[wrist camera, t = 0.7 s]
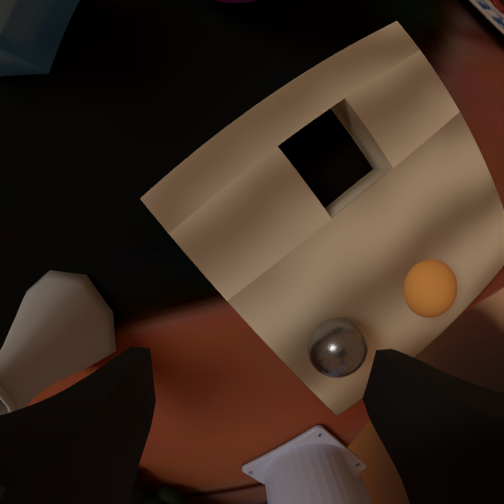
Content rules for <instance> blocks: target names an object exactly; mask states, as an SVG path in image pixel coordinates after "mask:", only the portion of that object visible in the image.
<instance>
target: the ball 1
mask: <svg viewBox="0 0 504 504" xmlns="http://www.w3.org/2000/svg"><path fill="white" fill-rule="evenodd" d="M367 353H368V340H367V337H366V334H365V332H364V330H363V329H362V328H361V327H360V326H359V325H358V324H357V323H356V322H354V321H352V320H350V319H347V318H341V317H339V318H331V319H328V320H326V321H324V322H322V323H321V324H319V325H318V326H317V327H316V328H315V329H314V331H313V332H312V334H311V336H310V338H309V341H308V356H309V360H310V362H311V364H312V365H313V367H314V368H315V369H316V370H317V371H318V372H320V373H321V374H323V375H325V376H328V377H332V378H342V377H346V376H348V375H351V374H352V373H354V372H355V371H357V370H358V369H359V368H360V367H361V366H362V364H363V363H364V361H365V359H366V356H367Z"/></svg>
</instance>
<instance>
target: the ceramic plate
mask: <svg viewBox="0 0 504 504" xmlns="http://www.w3.org/2000/svg"><path fill="white" fill-rule="evenodd" d="M469 1H470V2H471V3H472V4H473V5H474V6H475V7H476V8H477V9H478V10H479V12H480V13H481V14H482V15H483V16H484V17H485V18H486V19H487V20H489V21H490V22H491V23H492V24H493V25H494V26H495V27H496V28H497V29H498V30H499V31H500V32H501V33H502V34H503V35H504V0H469Z"/></svg>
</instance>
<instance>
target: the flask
mask: <svg viewBox="0 0 504 504" xmlns="http://www.w3.org/2000/svg"><path fill="white" fill-rule="evenodd" d="M115 351H117V350H116V341H115V331H114V319H113V311H112V310H111V309H110V307H109V306H108V304H107V303H106V302H105V300H104V299H103V298H102V296H101V295H100V293H99V292H98V290H97V289H96V288H95V286H94V285H93V283H92V282H91V280H90V279H89V277H88V276H87V275H86V274H77V273H68V272H60V271H52V270H50V271H49V272H48V273H46V274H45V275H44V276H43V277H42V278H41V279H40V280H39V281H38V282H36V283H35V284H34V285H33V286H32V287H31V288H30V289H29V290H28V291H27V293H26V295H25V297H24V299H23V301H22V303H21V306H20V308H19V310H18V313H17V315H16V318H15V320H14V322H13V324H12V327H11V329H10V331H9V333H8V336H7V338H6V340H5V343H4V345H3V347H2V349H1V350H0V415H2V414H6V413H9V412H12V411H16V410H19V409H22V408H25V407H26V406H27V405H28V404H29V403H30V401H31V400H32V399H33V398H34V397H36V396H37V395H38V394H39V393H41V392H42V391H43V390H44V389H46V388H47V387H48V386H50V385H52V384H54V383H56V382H58V381H60V380H61V379H63V378H66V377H68V376H70V375H72V374H75V373H77V372H79V371H82V370H84V369H86V368H88V367H90V366H91V365H93V364H95V363H96V362H98V361H100V360H102V359H103V358H105V357H107V356H108V355H110V354H112V353H114V352H115Z"/></svg>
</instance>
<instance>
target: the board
mask: <svg viewBox="0 0 504 504" xmlns="http://www.w3.org/2000/svg"><path fill="white" fill-rule="evenodd" d="M328 109H331V110H332V111H333V113H334V114H335V115H336V116H337V118H338V119H339V120H340V122H341V123H342V125H343V126H344V127H345V129H346V130H347V131H348V133H349V134H350V136H351V137H352V138H353V140H354V141H355V143H356V144H357V145H358V147H359V148H360V150H361V151H362V153H363V154H364V156H365V157H366V159H367V160H368V162H369V163H370V165H371V166H372V168H373V170H372V171H371V172H369V173H368V174H367V175H366V176H364V177H363V178H362V179H361V180H359V181H358V182H357V183H356V184H354V185H353V186H352V187H351V188H349V189H348V190H347V191H346V192H344V193H343V194H342V195H341V196H339V197H338V198H337V199H336V200H334V201H333V202H332V203H331V204H329V205H328V206H327V207H326V208H324V207H323V206H322V204H321V203H320V202H319V200H318V199H317V197H316V196H315V195H314V193H313V192H312V191H311V189H310V188H309V187H308V185H307V184H306V182H305V181H304V180H303V178H302V177H301V176H300V175H299V173H298V172H297V171H296V169H295V168H294V167H293V165H292V164H291V163H290V161H289V160H288V159H287V158H286V156H285V155H284V154H283V152H282V151H281V150H280V149H279V147H278V145H280V144H281V143H282V142H284V141H285V140H286V139H288V138H289V137H291V136H292V135H293V134H295V133H296V132H297V131H299V130H300V129H301V128H303V127H304V126H306V125H307V124H308V123H310V122H311V121H313V120H314V119H315V118H317V117H318V116H320V115H321V114H323V113H324V112H325V111H327V110H328ZM140 199H141V200H142V202H143V203H144V204H145V205H146V207H147V208H148V209H149V210H150V211H151V213H152V214H153V215H154V216H155V218H156V219H157V220H158V221H159V222H160V224H161V225H162V226H163V227H164V228H165V230H166V231H167V232H168V233H169V234H170V236H171V237H172V238H173V239H174V240H175V242H176V243H177V244H178V245H179V246H180V247H181V249H182V250H183V251H184V252H185V253H186V255H187V256H188V257H189V258H190V259H191V260H192V261H193V263H194V264H195V265H196V266H197V267H198V268H199V270H200V271H201V272H202V273H203V274H204V275H205V276H206V278H207V279H208V280H209V281H210V282H211V283H212V284H213V286H214V287H215V288H216V289H217V290H218V291H219V292H220V293H221V295H222V296H223V297H224V298H225V299H226V300H227V301H228V302H229V304H230V305H231V306H232V307H233V308H234V309H235V310H236V311H237V312H238V313H239V315H240V316H241V317H242V318H243V319H244V320H245V321H246V322H247V323H248V324H249V326H250V327H251V328H252V329H253V330H254V331H255V332H256V333H257V334H258V335H259V336H260V337H261V338H262V340H263V341H264V342H265V343H266V344H267V345H268V346H269V347H270V348H271V349H272V350H273V351H274V352H275V353H276V354H277V355H278V357H279V358H280V359H281V360H282V361H283V362H284V363H285V364H286V365H287V366H288V367H289V368H290V369H291V370H292V371H293V372H294V373H295V374H296V375H297V376H298V377H299V378H300V379H301V380H302V381H303V382H304V383H305V384H306V385H307V386H308V387H309V389H310V390H311V391H312V392H313V393H314V394H315V395H316V396H317V397H318V398H319V399H320V400H321V401H322V402H323V403H324V404H325V405H326V406H327V407H328V408H329V409H331V410H332V411H333V412H334V413H335V414H336V415H339V414H340V413H342V412H343V411H345V410H346V409H348V408H349V407H351V406H352V405H353V404H355V403H356V402H358V401H359V400H360V399H362V398H363V396H364V392H365V389H366V386H367V382H368V379H369V375H370V371H371V368H372V364H373V360H374V356H375V353H376V350H382V349H394V350H397V351H400V352H402V353H404V354H407V355H409V356H411V357H413V358H414V357H415V356H416V355H417V354H419V353H420V352H421V351H422V350H423V349H424V348H425V347H426V346H428V345H429V344H430V343H431V342H432V341H433V340H434V339H435V338H436V337H437V336H438V335H440V334H441V333H442V332H443V331H444V330H445V329H446V328H447V327H448V326H449V325H450V324H451V323H452V322H453V321H454V320H455V319H456V318H457V317H458V316H459V315H460V314H461V313H462V312H463V311H464V310H465V309H466V308H467V307H468V306H469V305H470V304H471V302H472V301H473V300H474V299H475V298H476V297H477V296H478V295H479V294H480V293H481V292H482V290H483V289H484V288H485V287H486V286H487V285H488V284H489V282H490V281H491V280H492V279H493V278H494V277H495V275H496V274H497V273H498V272H499V271H500V269H501V268H502V267H503V266H504V209H503V207H502V204H501V201H500V198H499V195H498V193H497V190H496V188H495V185H494V182H493V180H492V178H491V175H490V173H489V170H488V168H487V166H486V163H485V161H484V159H483V157H482V154H481V152H480V150H479V148H478V146H477V144H476V142H475V140H474V138H473V136H472V134H471V132H470V130H469V128H468V126H467V124H466V122H465V120H464V119H463V117H462V115H461V113H460V111H459V109H458V108H457V106H456V104H455V103H454V101H453V99H452V97H451V96H450V94H449V92H448V91H447V89H446V88H445V86H444V84H443V83H442V81H441V80H440V78H439V77H438V75H437V74H436V72H435V71H434V69H433V68H432V66H431V65H430V63H429V62H428V60H427V59H426V58H425V56H424V55H423V53H422V52H421V51H420V49H419V48H418V47H417V45H416V44H415V43H414V41H413V40H412V39H411V38H410V36H409V35H408V34H407V32H406V31H405V30H404V29H403V28H402V26H401V25H400V24H399V23H398V21H396V22H394V23H392V24H390V25H388V26H386V27H384V28H382V29H380V30H378V31H376V32H374V33H372V34H370V35H369V36H367V37H365V38H363V39H361V40H359V41H357V42H356V43H354V44H352V45H350V46H348V47H347V48H345V49H343V50H341V51H340V52H338V53H336V54H334V55H333V56H331V57H329V58H328V59H326V60H324V61H323V62H321V63H319V64H318V65H316V66H314V67H313V68H311V69H310V70H308V71H306V72H305V73H303V74H302V75H300V76H299V77H297V78H295V79H294V80H292V81H291V82H289V83H288V84H286V85H285V86H283V87H282V88H280V89H279V90H277V91H276V92H274V93H273V94H271V95H270V96H268V97H267V98H266V99H264V100H263V101H261V102H260V103H258V104H257V105H256V106H254V107H253V108H251V109H250V110H249V111H247V112H246V113H244V114H243V115H242V116H240V117H239V118H238V119H236V120H235V121H234V122H232V123H231V124H230V125H228V126H227V127H226V128H224V129H223V130H222V131H220V132H219V133H218V134H216V135H215V136H214V137H213V138H211V139H210V140H209V141H207V142H206V143H205V144H204V145H202V146H201V147H200V148H199V149H197V150H196V151H195V152H194V153H193V154H191V155H190V156H189V157H188V158H186V159H185V160H184V161H183V162H182V163H180V164H179V165H178V166H177V167H176V168H174V169H173V170H172V171H171V172H170V173H169V174H167V175H166V176H165V177H164V178H163V179H162V180H161V181H159V182H158V183H157V184H156V185H155V186H154V187H153V188H152V189H150V190H149V191H148V192H147V193H146V194H145V195H144V196H143V197H142V198H140ZM429 259H433V260H438V261H441V262H443V263H445V264H446V265H447V266H448V267H449V268H450V269H451V270H452V271H453V273H454V275H455V278H456V282H457V294H456V297H455V300H454V302H453V304H452V306H451V307H450V308H449V309H448V310H447V311H446V312H445V313H443V314H442V315H439V316H437V317H431V318H427V317H422V316H419V315H417V314H416V313H414V312H413V311H412V310H411V309H410V308H409V306H408V305H407V303H406V301H405V298H404V293H403V286H404V281H405V278H406V276H407V274H408V272H409V271H410V269H411V268H412V267H413V266H414V265H416V264H417V263H419V262H421V261H424V260H429ZM339 317H341V318H347V319H350V320H352V321H354V322H356V323H357V324H358V325H359V326H360V327H361V328H362V329H363V330H364V332H365V334H366V337H367V340H368V353H367V356H366V359H365V361H364V363H363V364H362V366H361V367H360V368H359V369H358V370H357V371H355V372H354V373H352V374H351V375H348V376H346V377H342V378H332V377H328V376H325V375H323V374H321V373H320V372H318V371H317V370H316V369H315V368H314V367H313V365H312V364H311V362H310V360H309V356H308V341H309V338H310V336H311V334H312V332H313V331H314V329H315V328H316V327H317V326H318V325H319V324H321V323H322V322H324V321H326V320H328V319H331V318H339Z"/></svg>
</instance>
